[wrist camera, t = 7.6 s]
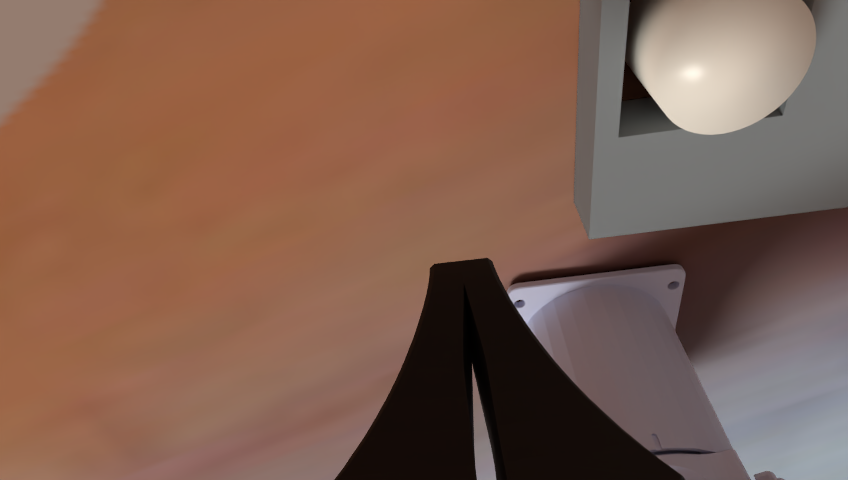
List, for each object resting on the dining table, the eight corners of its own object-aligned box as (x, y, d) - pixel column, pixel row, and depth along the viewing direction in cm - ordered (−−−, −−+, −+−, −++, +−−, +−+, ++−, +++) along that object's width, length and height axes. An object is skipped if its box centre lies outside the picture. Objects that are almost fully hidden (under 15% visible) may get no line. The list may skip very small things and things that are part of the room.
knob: (742, 77, 21) (793, 124, 18) (616, 94, 21) (649, 143, 19) (770, -58, 18) (837, -26, 16) (626, -36, 19) (666, -1, 16)
